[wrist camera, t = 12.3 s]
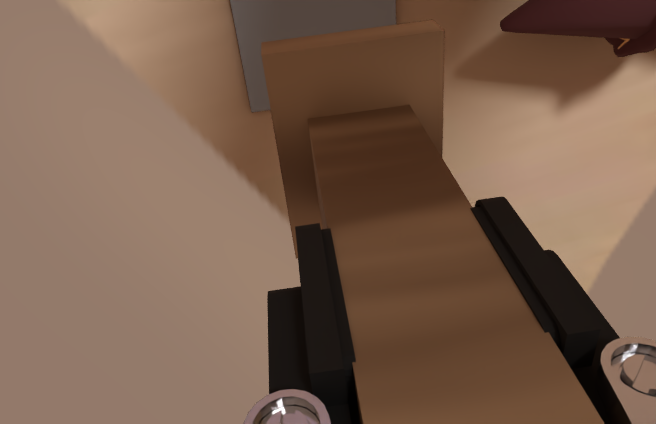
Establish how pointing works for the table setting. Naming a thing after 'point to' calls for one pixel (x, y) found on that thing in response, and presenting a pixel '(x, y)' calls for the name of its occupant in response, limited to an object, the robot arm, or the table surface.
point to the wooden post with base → (408, 236)
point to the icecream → (590, 21)
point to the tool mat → (296, 29)
